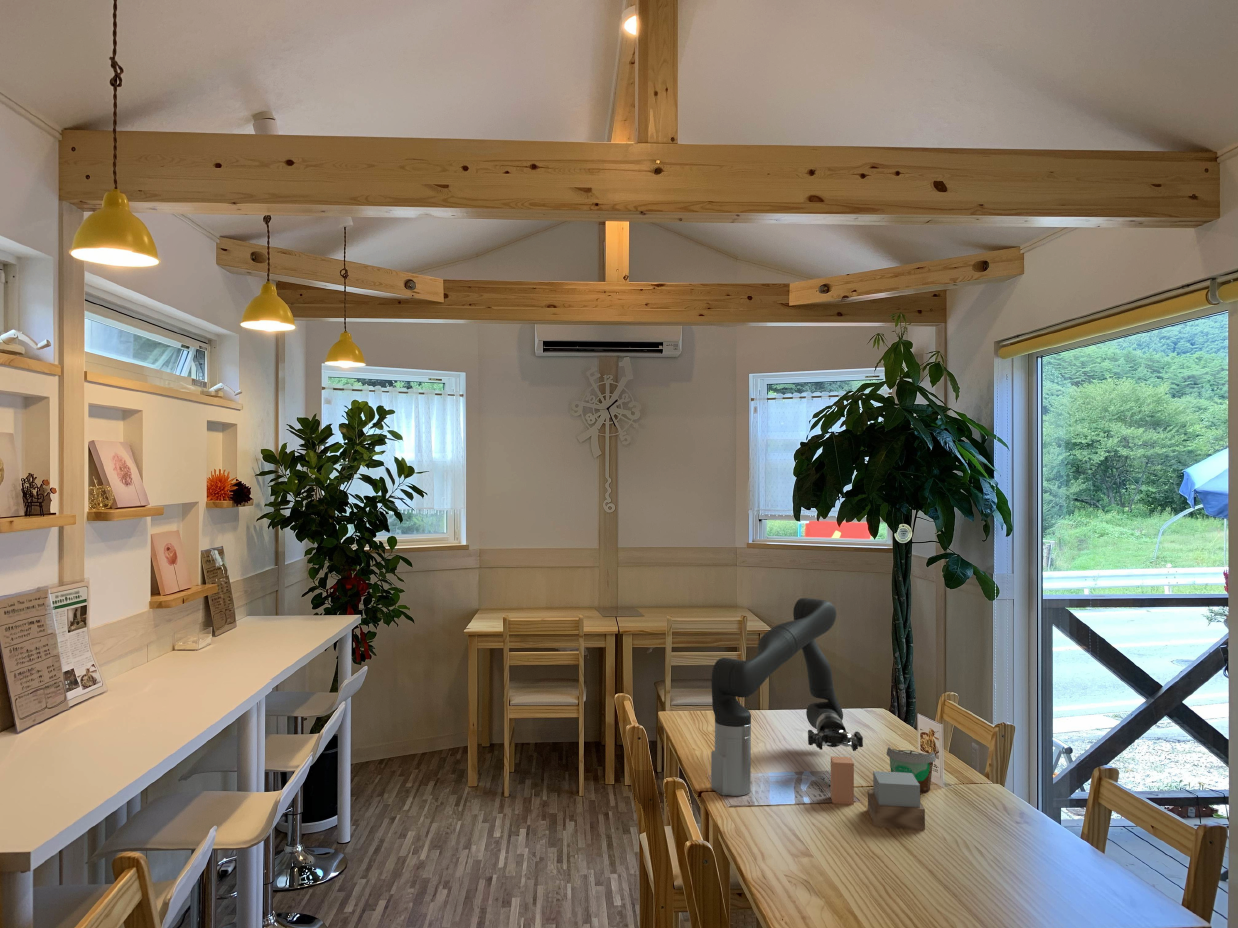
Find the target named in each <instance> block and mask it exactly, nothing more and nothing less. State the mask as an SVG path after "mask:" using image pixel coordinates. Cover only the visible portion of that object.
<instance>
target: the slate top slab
mask: <svg viewBox="0 0 1238 928" xmlns="http://www.w3.org/2000/svg"><path fill="white" fill-rule="evenodd" d="M872 786H873V787H872V788H873V789H872V790H873V793H874V795H875V797H876V799H877V801H878V803H879V805H885V806H902V807H920V802H921V793H920V785H919V783H918V782H917V780H916V779H915V777H914V775H913V774H912V773H901V772H891V771H883V770H882V771H880V770H879V771H878V770H873V771H872Z"/></svg>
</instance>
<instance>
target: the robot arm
mask: <svg viewBox="0 0 1238 928" xmlns="http://www.w3.org/2000/svg"><path fill="white" fill-rule="evenodd" d="M792 616H793V620H791V621H790V620H789V621H787V622H782V623H779V624H777V625H776V626H773V627H772V628H770V629H769V630H768V631H767V632H765V633H763V635H762V636H761V637H760V638H759V640H758V643H757V650H756V651H757V654H756V655H755V656H754V657H752V658H751V659H748V660H742V659H736V658H732V657H731V658H728V657H721V658H718V659H717V660H716V661H715V663H714V664H713V667H712V671H711V680H710V681H711V700H712V702H711V704H712V706H711V707H712V712H713V714H714V750H712V751H711V753H710V754H711V755H710V758H711V760H710V763H711V764H710V767H711V769H710V782H711V783H710V787H711V790H713V791H715V792H716V793H718V794H719V795H721V796H732V797H733V796H735V797H736V796H745V795H746V796H747V794H750V792H751V786H752V784H751V783H752V781H751V780H752V779H751V777H752V774H751V773H752V771H751V769H752V768H751V767H752V765H751V761H752V760H751V759H752V758H751V757H752V755H751V751H752V750H751V749H752V714H751V711H750V710H748V709H747V708H746V707H745V706H744V705H742V704H741V703H740V702H739V701H738V699H737V698H749V697H750V696H752V695H753V694H755V692H756V691H758V689H759V688H761V686H762V684H763V683H764V682H765V681H766V680H767V679H768V678H769V677H770V676H771V675H772V674H774V672H775V671H776V670H778V669H779V668H780V667H781V666H782V665H784V664H785V663H786V662H788V661H789V660H790V659H792V657H794V656H795V655H796V654H797V653H798V652H799V651H800V650H802V654H803V657H804V661H805V666H806V671H807V680H808V685H809V693H810V695H811V696H812V697H814V698H816V699H821V700H825V701H819V702H817V701H816V702H812V703H810V704H808V705H807V708H806V711H805V715H806V719H807V721H808V723H809V725H810V726H811V727H812V728H813V729H815V730H816V732H815V731H813V730H812V729H808V730H807V744H808V746H814V745H815V746H816V748H817V749H819V750H820V751H821V750H823V747H825V746H826V747H828V748H837V747H840V746H843V747H846V748H848V747H850V748H851V750H852V751H853V752H856V751H857V750H859V748H863V747H864V741H863V740H864V737H863V735H862V734H861V733H860V731H858V730H857V731H854V733H852V734H851V733H850V732H848V731H847V730H846V727H845V725H844V723H843V720H844V712H843V710H842V707H841V705H840V702H839V700H838V698H837V695H836V693H835V687H834V681H833V672H832V668H831V664H830V662H829V661H828V659H827V657H826V656H825V654H824V652H822V649H821V648H820V647H819V645H818V643H817V641H816V639H817V638H819V637H820V636H822V635H824V634H826V633H827V632H829V631H830V629H832V627H833V626H834V624H835V622H836V619H837V611H836V608H835V605H834V604H833V603H832V602H830V601H828V600H824V599H819V598H818V599H817V598H810V597H801V598H799V599H797V600H796V602H795V604H794V606H793V611H792Z"/></svg>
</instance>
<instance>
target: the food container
mask: <svg viewBox="0 0 1238 928" xmlns="http://www.w3.org/2000/svg"><path fill="white" fill-rule="evenodd" d="M886 749H887V750H886V756H887V757H888V758H889V767H890V772H901V773H912V774H913V775H914V777H915V779H916V780H917V782H918V783H919V785H920V794H925V793H929V792H930V790H931V785H932V775H933V765H934V762H935V761H936V759H937V758H936V753H935V751H932V752H930V753H921V752H918V751H915V750H910V749H905V750H902V749H901V750H900V749H893V748H890V746H888V747H887V748H886Z"/></svg>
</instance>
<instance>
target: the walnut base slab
mask: <svg viewBox="0 0 1238 928" xmlns="http://www.w3.org/2000/svg"><path fill="white" fill-rule="evenodd" d="M867 811H868V814H869V816H870V818H871V821H872V823H873V825H874V827H875V828H885V829H886V828H888V829H903V830H904V829H905V830H919V831H920V830H922V831H925V830H926V808H925V807H924V806H923V804H922V802H921V801H920V807H902V806H885V805H879V803H878V801H877V799H876V797H875V795H874V793H873V789H872V790H869V789H868V790H867Z"/></svg>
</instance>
